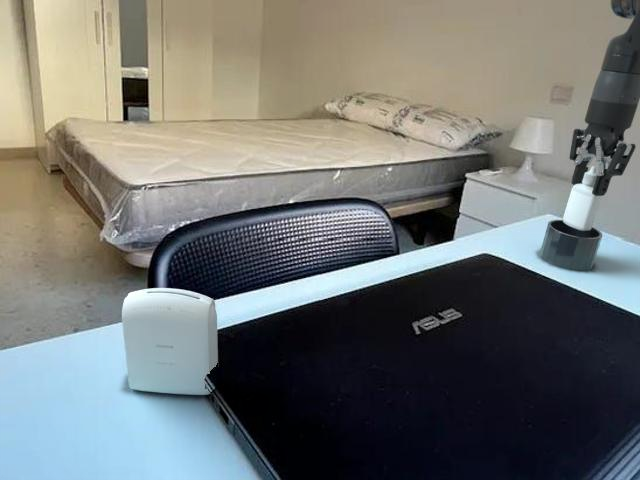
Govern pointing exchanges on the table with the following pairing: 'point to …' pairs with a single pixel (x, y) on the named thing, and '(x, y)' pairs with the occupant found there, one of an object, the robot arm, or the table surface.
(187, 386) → the photo printer
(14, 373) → the table surface
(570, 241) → the desk tube
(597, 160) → the robot arm
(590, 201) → the eye dropper bottle
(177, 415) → the table surface
